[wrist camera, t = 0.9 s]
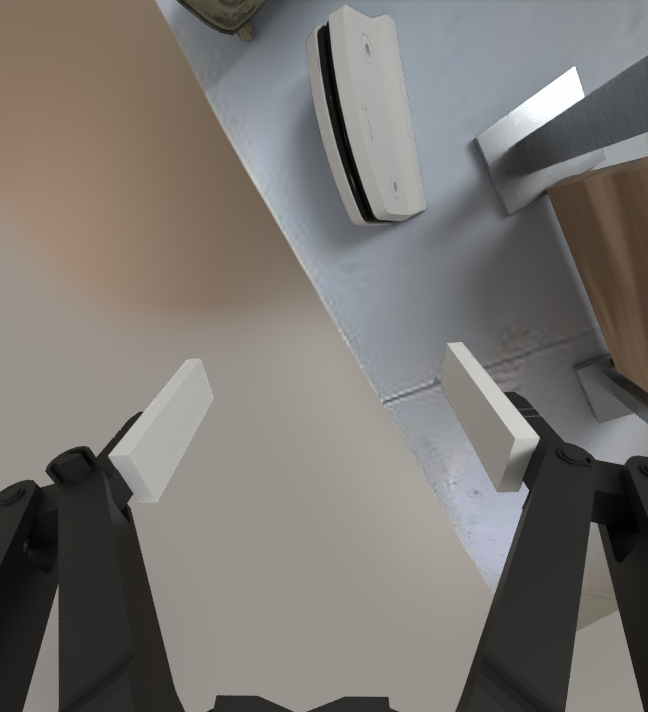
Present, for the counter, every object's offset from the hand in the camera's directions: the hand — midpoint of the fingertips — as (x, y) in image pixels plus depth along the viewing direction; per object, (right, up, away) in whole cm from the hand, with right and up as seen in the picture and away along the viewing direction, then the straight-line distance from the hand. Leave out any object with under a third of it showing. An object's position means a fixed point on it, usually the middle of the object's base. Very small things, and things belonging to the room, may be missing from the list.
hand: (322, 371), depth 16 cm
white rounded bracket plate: (+5, +23, +15) cm, 28 cm away
